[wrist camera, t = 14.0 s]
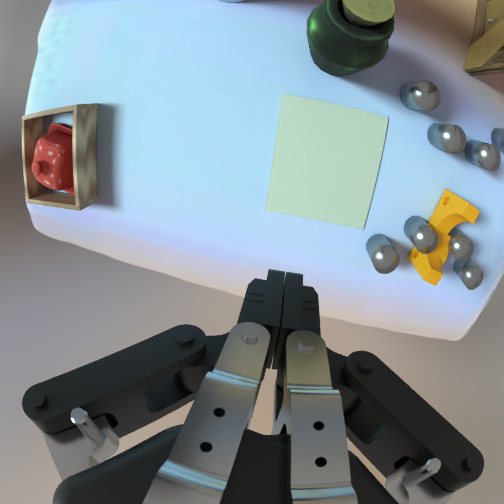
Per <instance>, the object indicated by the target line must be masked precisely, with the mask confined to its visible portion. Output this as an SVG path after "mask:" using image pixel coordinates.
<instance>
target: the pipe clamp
mask: <svg viewBox="0 0 504 504" xmlns="http://www.w3.org/2000/svg"><path fill="white" fill-rule="evenodd" d="M479 212H480V211H478V210H477V209H476V208H475V207H473V206H472V205H471V204H470V203H468V202H467V201H465V200H464V199H462V198H460V197H459V196H457V195H455V194H454V193H452V192H450V191H448V190H447V189H445V191H444V193H443V195H442V197H441V199H440V201H439V203H438V205H437V207H436V209H435V211H434V212H433V214H432V216H431V218H430V220H429V222H428V224H429V225H430V226H431V227H432V228H433V229H434V230H435V231H436V232H437V234H438V237H439V242H438V245H437V247H436V248H435V250H434V251H432V252H431V253H429V254H422V253H420V252H419V251H418V250H417V248H416V247H415V246H414V248H413V250H412V251H411V253H410V255H409V256H408V258H409V260H410V261H411V262H412V264H413V265H414V267H415V268H416V269H417V271H418V272H419V274H420V275H421V277H422V278H423V280H425V281H427V282H429V283H431V284H433V285H435V286H436V285H437V283H438V282H439V280H440V279H441V278H442V276H443V273H442V271H441V267H442V266H443V264H444V262H445V261H446V259H447V256H448V252H449V251H448V241H449V239H450V238H451V237H450V236H449V235H448V233H449V232H450V231H451V229H452V228H453V227H455V226H456V225H457V224H459V223H462V222H470V223H472V224H474V222H475V220H476V218H477V216H478V214H479Z"/></svg>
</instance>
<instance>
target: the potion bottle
mask: <svg viewBox="0 0 504 504" xmlns="http://www.w3.org/2000/svg"><path fill="white" fill-rule="evenodd" d="M394 12H395V4H394V1H393V0H325V1H324V3H323V4H321V5H319V6H318V7H316V8H315V9H313V11H312V12H311V14H310V16H309V18H308V20H307V38H308V43H309V48H310V54H311V56H312V59H313V61H314V63H315V64H316V65H317V66H318V67H319V68H320V69H321V70H322V71H324V72H326V73H328V74H330V75H336V76H344V75H348V74H352V73H355V72H357V71H360V70H363V69H366V68H369V67H372V66H373V65H375V64H376V63H378V62H379V61H381V60H382V59H383V57H384V55H385V53H386V51H387V49H388V39H389V38H390V37H391V34H392V32H393V30H394Z"/></svg>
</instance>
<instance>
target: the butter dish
mask: <svg viewBox="0 0 504 504" xmlns="http://www.w3.org/2000/svg"><path fill="white" fill-rule="evenodd" d="M72 137H73V129H70V128H68V127H65V126H63V125H60V124H57V123H52V124H51V125H50V127H49V131H48V133H47V134H46V135H44V136H42V137H41V138H40V139H39V140H38V142H37V144H36V148H35V152H34V158H33V163H32V172H33V174H34V176H35V178H36V179H37V180H38V181H39V182H40V183H41V184H43V185H44V186H46V187H48V188H50V189H53V190H64V191H66V192H68V193H70V194H72V195H75V190H74V176H73V144H72Z"/></svg>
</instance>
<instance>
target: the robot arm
mask: <svg viewBox="0 0 504 504" xmlns="http://www.w3.org/2000/svg"><path fill="white" fill-rule="evenodd" d="M219 1H223V2H231V3H235V2H243V1H248V0H219ZM284 278H285V281H284ZM318 304H319V301H318V294H317V293H316V291H315V290H314V288H313V287H309V286H303V274H298V273H291V272H286V276H285V272H284V271H278V270H271V269H269V271H268V276H267V280H262V279H256V278H255V279H254V280H253V281H252V282H251V283H249V284H248V287H247V291H246V294H245V298H244V301H243V305H242V308H241V312H240V315H239V319H238V322H237V325H235V326H234V327H233V328H232V329H231V331H230V332H228V333H226V334H223V335H217V336H206V335H205V333H204V332H203V331H202V330H201V329H200V328H198V327H196V326H193V325H188V324H186V325H185V324H184V325H178V326H175V327H173V328H171V329H169V330H166V331H164V332H162V333H160V334H158V335H155V336H153V337H151V338H148V339H146V340H144V341H142V342H139V343H137V344H135V345H132V346H130V347H128V348H125V349H123V350H121V351H118V352H116V353H114V354H111V355H109V356H106V357H104V358H101V359H99V360H97V361H94V362H92V363H89V364H87V365H84V366H82V367H79V368H77V369H74V370H72V371H69V372H67V373H64V374H62V375H59V376H57V377H54V378H51V379H49V380H46V381H44V382H41V383H38V384H36V385H33V386H31V387H30V388H29V389H28V390H27V391H26V392H25V394H24V396H23V401H22V406H23V410H24V412H25V414H26V415H27V416H28V417H29V418H30V419H31V420H32V421H33V422H34V423H35V424H36V426H37V427H38V428H39V429H40V430H41V431H42V433H43V435H44V438H45V440H46V443H47V446H48V448H49V450H50V453H51V456H52V458H53V460H54V463H55V465H56V467H57V470H58V472H59V474H60V476H61V478H62V480H63V481H62V482H61V483H60V484H59V486H58V487H57V489H56V491H55V493H54V497H53V504H446V502H447V501H448V500H449V499H450V497H451V496H452V495H453V493H454V492H455V491H457V490H459V489H461V488H463V487H464V486H466V485H468V484H470V483H472V482H473V481H475V480H477V479H478V478H479V476H480V475H481V473H482V471H483V468H484V459H483V456H482V454H481V452H480V451H479V450H478V449H477V448H476V447H475V446H474V445H473V444H472V443H471V442H469V441H468V440H467V439H466V438H465V437H464V436H463V435H462V434H460V432H458V430H457V429H455V428H454V427H453V426H452V425H451V424H450V423H449V422H448V421H447V420H446V419H445V418H443V417H442V416H441V415H440V414H439V413H438V412H437V411H436V410H435V409H434V408H433V407H431V406H430V405H429V404H428V403H427V402H426V401H425V400H424V399H423V398H422V397H420V395H418V394H417V393H416V392H415V391H414V390H413V389H412V388H411V387H410V386H409V385H407V384H406V383H405V382H404V381H403V380H402V379H401V378H400V377H399V376H398V375H396V374H395V373H394V372H393V371H392V370H391V369H390V368H388V367H387V366H386V365H385V364H384V363H383V362H382V361H381V360H380V359H379V358H378V357H377V356H375V355H374V354H372V353H370V352H367V351H356V352H353V353H351V354H350V355H349V356H348V357H346V356H343V355H341V354H338V353H335V352H333V351H332V350H330V349H329V348H327V347H326V344H325V342H324V340H323V339H322V337H321V334H320V316H319V305H318ZM273 354H274V356H273ZM272 358H273V364H272V369H277V370H278V371H277V378H276V382H275V387H274V412H273V429H272V434H271V435H262V434H259V433H257V432H254V431H251V430H249V425H250V421H251V418H252V414H253V411H254V407H255V404H256V400H257V397H258V393H259V389H260V386H261V382H262V381H263V379H264V376H265V371H266V368H269V369H270V367H271V363H272ZM193 400H194V402H193V405H192V407H191V409H190V411H189V413H188V415H187V418H186V420H185V422H184V424H182V425H177V426H173V427H170V428H168V429H165V430H163V431H161V432H159V433H158V434H156V435H154V436H152V437H150V438H149V439H147V440H145V441H143V442H141V443H139V444H138V445H136V446H134V447H132V448H130V449H128V450H126V451H124V452H122V453H120V454H118V455H116V456H114V457H112V458H110V459H108V460H106V459H107V458H109V457H110V456H112V455H113V454H114V453H115V452H116V451H117V449H118V447H119V438H121V437H123V436H125V435H127V434H129V433H132V432H134V431H136V430H138V429H140V428H141V427H144V426H146V425H148V424H150V423H152V422H154V421H156V420H158V419H160V418H162V417H163V416H165V415H167V414H169V413H171V412H173V411H175V410H177V409H178V408H180V407H182V406H184V405H186V404H187V403H189V402H191V401H193ZM346 436H347V437H348V438H349V440H350V441H351V442H352V443H353V444H354V445H355V446H356V447H357V448H358V449H359V450H360V451H361V453H362V454H363V455H364V456H365V457H366V458H367V459H368V460H369V461H370V462H371V463H372V464H373V465H374V466H375V467H376V468H377V469H378V470H379V471H380V472H381V473H382V474H383V475H384V476H385V477H386V482H385V488H384V487H383V485H382V484H381V483H380V482H379V481H378V480H377V479H376V478H375V477H374V475H373V474H372V473H371V472H370V471H369V470H368V469H367V468H366V466H365V465H364V464H363V463H362V462H361V461H360V460H359V458H358V457H357V456H355V455H354V454H353V453H352V452H351V451H349V450H348V447H347V438H346ZM105 460H106V461H105Z"/></svg>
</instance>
